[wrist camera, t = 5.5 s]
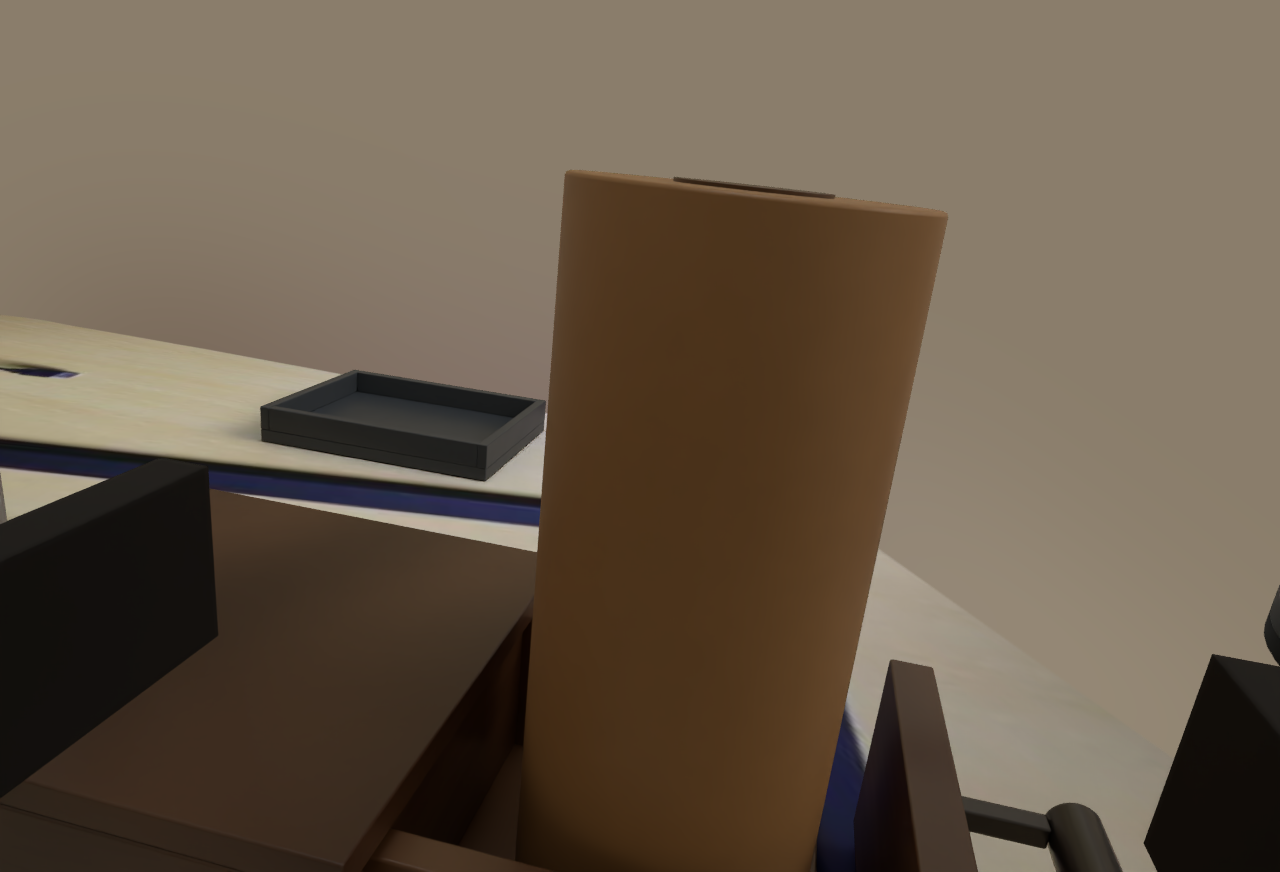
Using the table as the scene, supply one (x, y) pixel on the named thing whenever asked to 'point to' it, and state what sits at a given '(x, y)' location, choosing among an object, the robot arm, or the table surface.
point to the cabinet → (285, 703)
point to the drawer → (883, 831)
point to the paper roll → (710, 513)
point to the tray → (406, 423)
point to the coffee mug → (2, 505)
